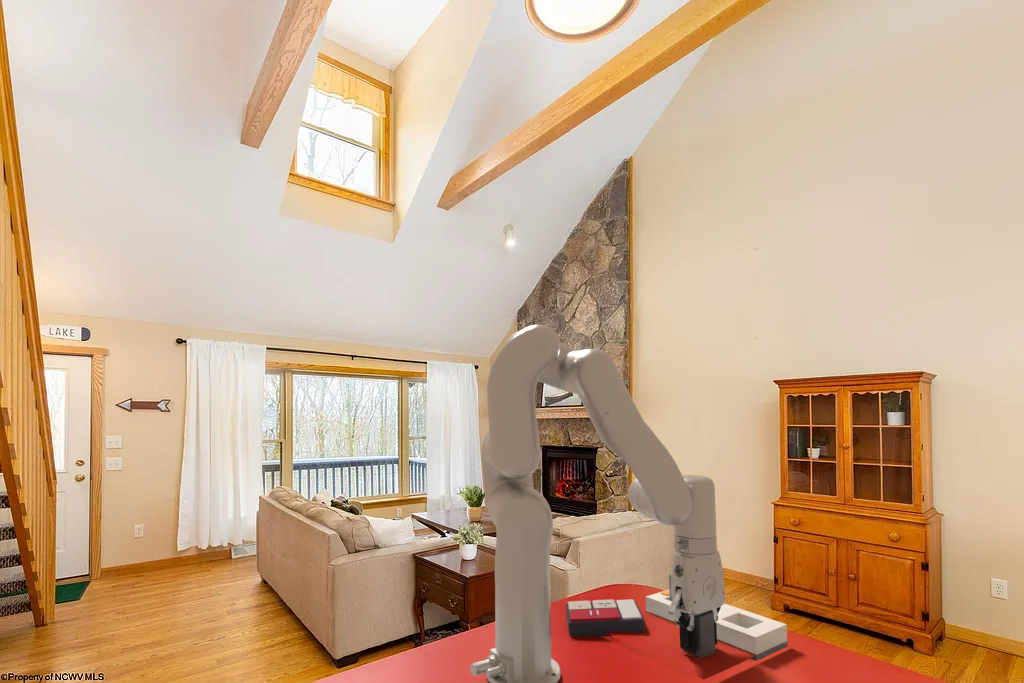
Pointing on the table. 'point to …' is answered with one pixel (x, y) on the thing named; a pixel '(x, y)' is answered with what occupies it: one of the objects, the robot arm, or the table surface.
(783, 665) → the table surface
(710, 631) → the plug
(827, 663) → the table surface
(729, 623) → the power strip
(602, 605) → the calculator
